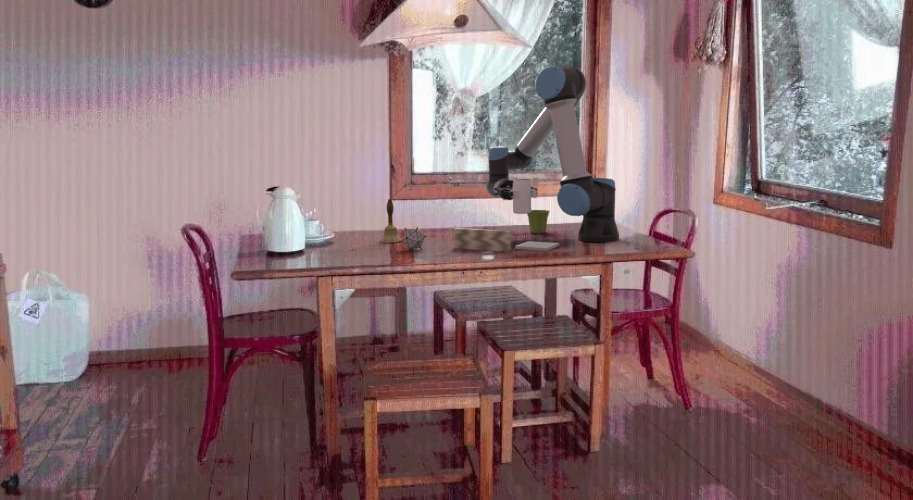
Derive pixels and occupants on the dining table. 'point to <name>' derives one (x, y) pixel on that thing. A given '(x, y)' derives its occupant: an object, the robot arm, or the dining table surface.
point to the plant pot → (538, 220)
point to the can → (522, 196)
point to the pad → (537, 246)
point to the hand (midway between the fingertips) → (526, 194)
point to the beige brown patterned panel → (482, 239)
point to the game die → (413, 238)
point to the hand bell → (390, 227)
